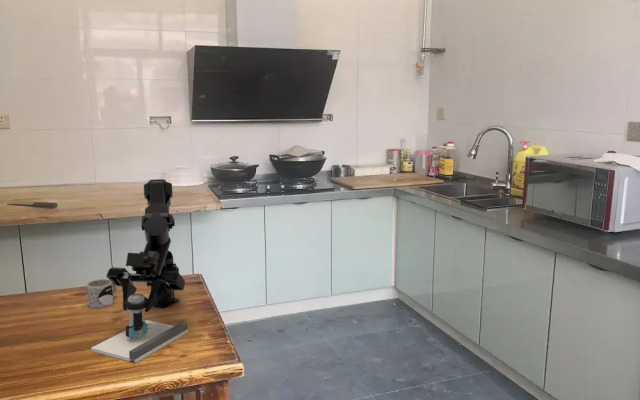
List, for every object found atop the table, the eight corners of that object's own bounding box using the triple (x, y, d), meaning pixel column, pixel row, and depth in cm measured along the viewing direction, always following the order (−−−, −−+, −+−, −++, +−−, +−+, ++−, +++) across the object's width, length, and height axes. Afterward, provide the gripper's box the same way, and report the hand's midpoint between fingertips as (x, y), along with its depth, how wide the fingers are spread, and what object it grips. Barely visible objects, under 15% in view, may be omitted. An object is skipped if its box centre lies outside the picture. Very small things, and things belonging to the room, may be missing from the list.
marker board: (146, 322, 137) (146, 313, 137) (188, 332, 131) (187, 323, 131) (91, 350, 121) (90, 341, 121) (135, 363, 115) (135, 352, 115)
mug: (102, 310, 146) (100, 287, 145) (83, 307, 148) (81, 285, 147) (125, 298, 155) (124, 277, 154) (107, 295, 157) (106, 274, 156)
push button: (145, 326, 130) (144, 289, 128) (157, 333, 127) (157, 295, 125) (121, 335, 125) (120, 296, 123) (133, 342, 122) (132, 302, 120)
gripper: (107, 236, 127) (83, 294, 119) (177, 239, 124) (158, 299, 115) (126, 257, 136) (106, 313, 128) (192, 261, 133) (175, 318, 125)
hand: (135, 310), depth 124 cm, fingers closed on push button, 5 cm apart
